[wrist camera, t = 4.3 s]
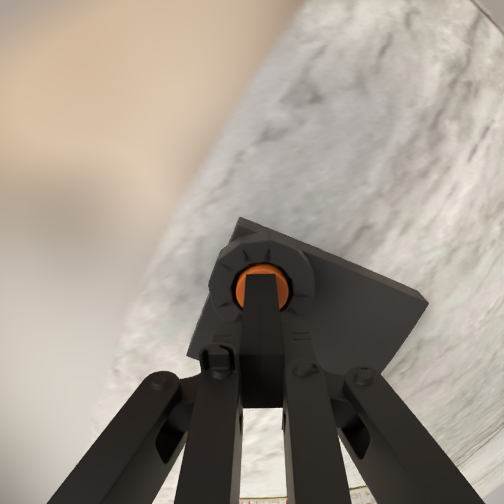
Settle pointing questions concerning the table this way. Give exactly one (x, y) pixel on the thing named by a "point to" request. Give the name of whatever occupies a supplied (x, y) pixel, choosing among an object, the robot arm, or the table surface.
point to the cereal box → (359, 497)
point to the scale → (315, 299)
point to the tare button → (263, 269)
